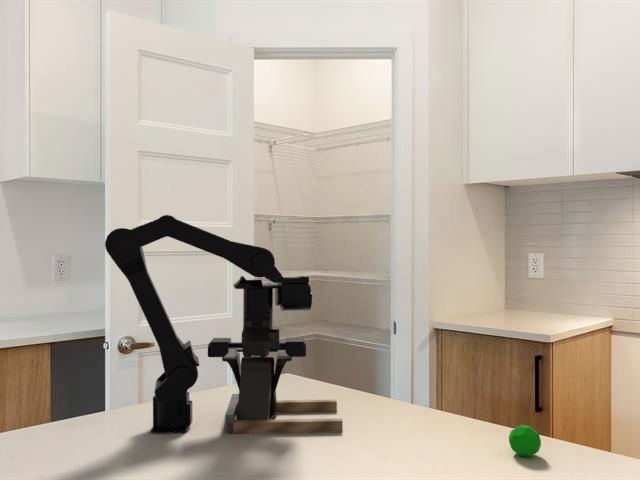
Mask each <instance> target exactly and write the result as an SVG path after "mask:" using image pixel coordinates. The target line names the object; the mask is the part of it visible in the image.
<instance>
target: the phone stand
mask: <svg viewBox="0 0 640 480" xmlns="http://www.w3.org/2000/svg"><path fill="white" fill-rule="evenodd" d="M240 363H241V378H240V388H238V394H239V399H238V409H237V419H236V420H274V418H275V416H276V415H277V413H278V412H277V400H278V399H277V390H276V391H275V392H273V382H274V374H275V357H273V356H266V357H261V356H251V357H245V356H242V357H241V359H240Z"/></svg>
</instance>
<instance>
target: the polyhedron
mask: <svg viewBox="0 0 640 480" xmlns="http://www.w3.org/2000/svg"><path fill="white" fill-rule="evenodd" d="M508 442H509V446H510V448H511V451H513V452H514V453H516V454H517V455H518V456H519V457H522V456H523V457H522V458H530V457H532V456H533V455H535V454H537V453H538V452H539V451H540V449H541V446H542V440H541V437H540V434H539V433H538V432H537V431H536V430H535V429H534V428H533V427H532V426H529V425H526V424H520V425H518V426H516V427H515V428H512V429H511V430H510V433H509V435H508Z"/></svg>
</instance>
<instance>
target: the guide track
mask: <svg viewBox="0 0 640 480" xmlns="http://www.w3.org/2000/svg"><path fill="white" fill-rule="evenodd" d="M276 400H277V413H309V412H311V413H313V412H315V413H317V412H337V411H338V401H337V399H289V400H285V399H283V400H281V399H280V400H279V399H276ZM230 424H231V423H229V424H228V426H229V427H228V429H229V428H230V427H231V426H232V427H231V428H233V426H234V429H232V430H230V431H228V432H229V433H231V432H232V431H233V430H234V434H233V433H232V434H231V435H235V434H236V435H238V434H239V435H242V434H248V435H249V434H252V435H253V434H290V433H291V434H293V433H295V434H297V433H299V434H300V433H302V434H303V433H342V432H343V418H294V419H293V418H291V419H287V418H286V419H282V418H281V419H272V420H234V425H230ZM232 424H233V423H232ZM229 433H228V434H227V435H230V434H229Z"/></svg>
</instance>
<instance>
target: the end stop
mask: <svg viewBox="0 0 640 480" xmlns="http://www.w3.org/2000/svg"><path fill="white" fill-rule="evenodd" d="M238 399H239V393H232V394H231V397H230V401H229V404H228V407H227V408H226V411H225V415H224V417H225V418H224V425H225V427H224V429H225V430H224V431H225V432H224V433H225V435H235V434H234V430H233V431H232V432H231V433H229V432H228V431H230V430H232V429H234V426H233V428H231V427H232V426H231V427H230V428H229V429H228V427H229V426H228V424H229V423H231V424H230V425H234V420H236V419H237V409H238ZM232 423H233V424H232ZM228 433H229V434H228ZM232 433H233V434H232Z"/></svg>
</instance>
